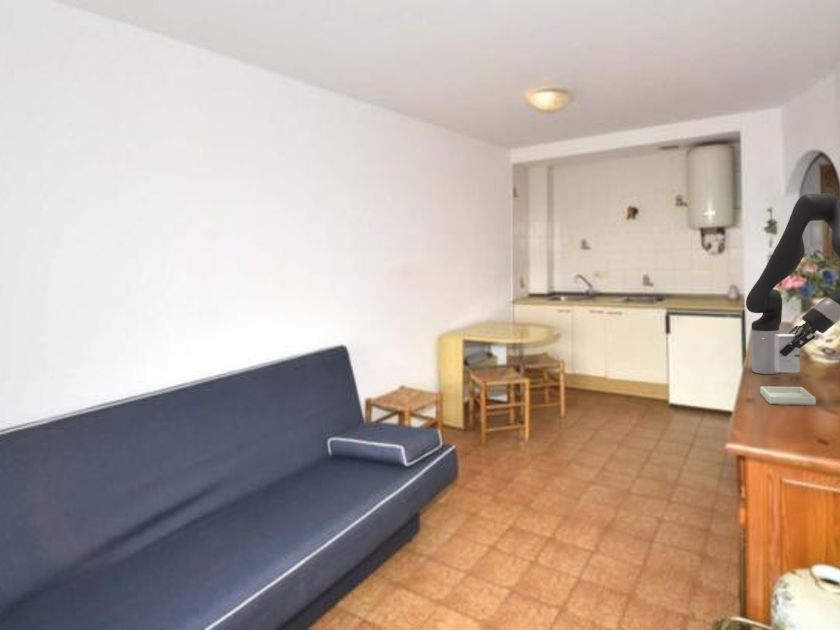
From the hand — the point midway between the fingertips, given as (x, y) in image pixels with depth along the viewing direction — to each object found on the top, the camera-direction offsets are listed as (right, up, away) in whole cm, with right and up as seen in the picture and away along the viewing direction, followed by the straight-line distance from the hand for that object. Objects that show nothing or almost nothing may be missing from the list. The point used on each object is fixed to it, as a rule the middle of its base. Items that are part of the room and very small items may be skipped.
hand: (780, 352), depth 170 cm
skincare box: (+2, -6, 0) cm, 7 cm away
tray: (+3, -15, +1) cm, 16 cm away
